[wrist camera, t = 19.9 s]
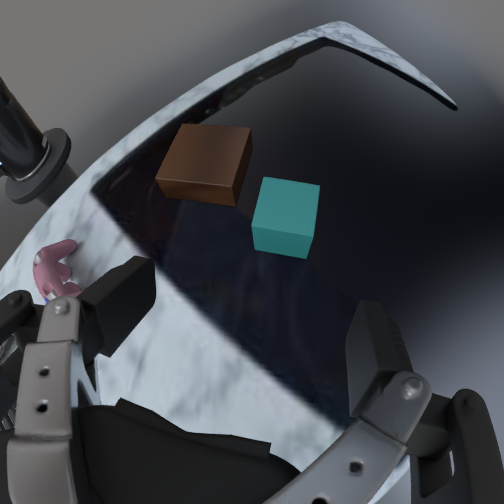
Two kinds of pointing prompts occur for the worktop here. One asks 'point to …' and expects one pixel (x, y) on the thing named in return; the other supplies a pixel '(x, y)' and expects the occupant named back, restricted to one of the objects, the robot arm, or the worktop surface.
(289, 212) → the square toy
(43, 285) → the video game controller
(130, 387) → the worktop surface
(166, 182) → the brown block
